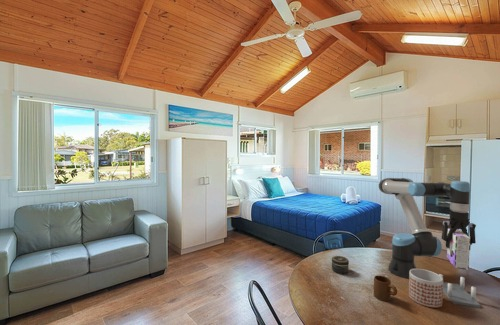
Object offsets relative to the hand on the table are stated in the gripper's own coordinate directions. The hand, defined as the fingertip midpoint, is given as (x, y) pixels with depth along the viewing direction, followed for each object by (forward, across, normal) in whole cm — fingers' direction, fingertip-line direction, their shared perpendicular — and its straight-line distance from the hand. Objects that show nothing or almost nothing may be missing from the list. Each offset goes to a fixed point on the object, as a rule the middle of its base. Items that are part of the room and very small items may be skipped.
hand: (457, 255), depth 126 cm
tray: (+21, 0, 0) cm, 21 cm away
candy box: (+5, 0, 0) cm, 5 cm away
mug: (+21, -37, -16) cm, 45 cm away
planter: (+21, -18, -10) cm, 29 cm away
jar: (+21, -56, +9) cm, 61 cm away
